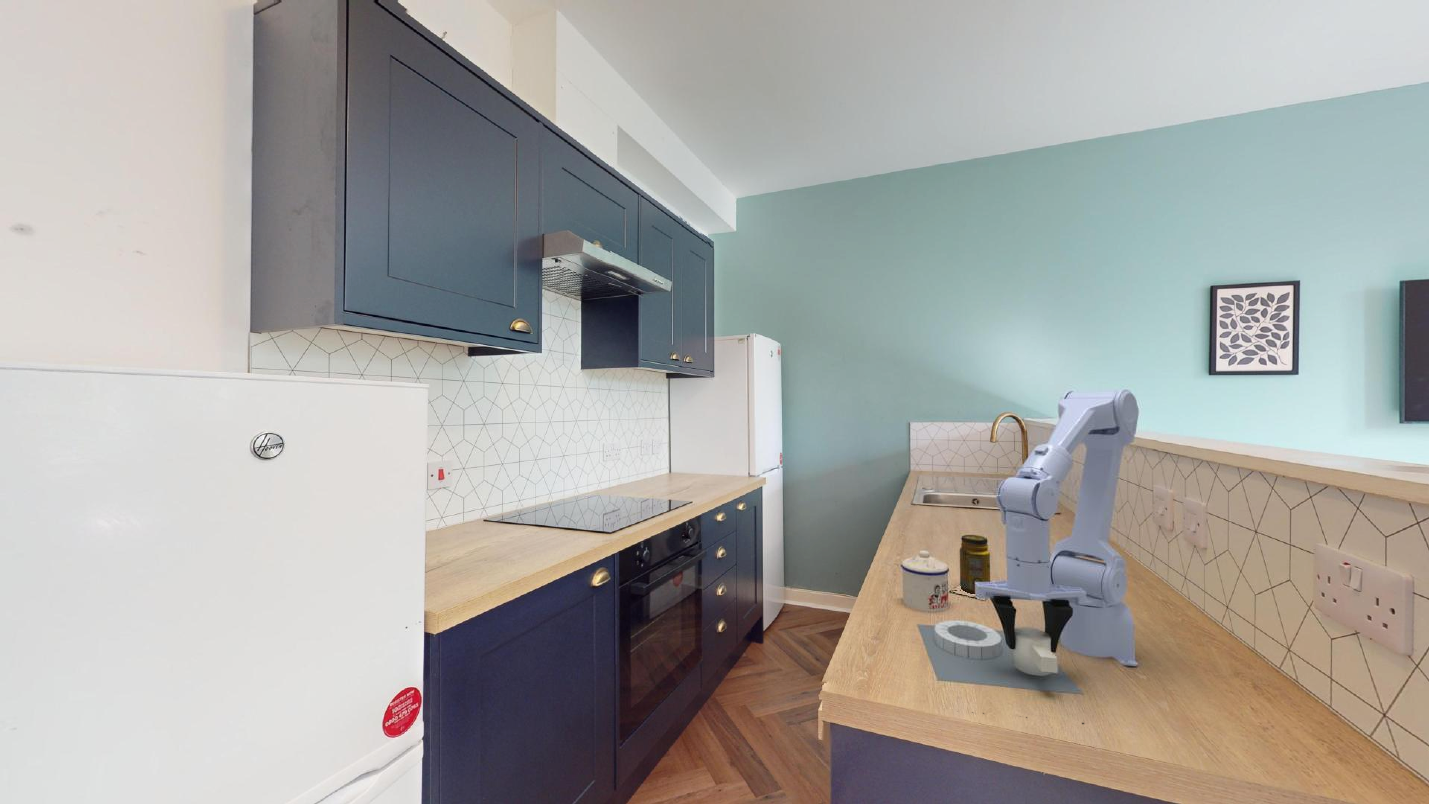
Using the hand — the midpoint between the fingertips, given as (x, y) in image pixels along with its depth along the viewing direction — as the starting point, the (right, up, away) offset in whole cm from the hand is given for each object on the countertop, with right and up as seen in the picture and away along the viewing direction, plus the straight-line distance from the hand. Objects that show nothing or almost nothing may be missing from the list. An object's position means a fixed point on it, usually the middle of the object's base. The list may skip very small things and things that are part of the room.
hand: (1030, 647), depth 78 cm
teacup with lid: (-3, -5, +29) cm, 29 cm away
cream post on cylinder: (0, -3, -2) cm, 4 cm away
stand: (-3, -5, +6) cm, 8 cm away
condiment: (+10, -5, +37) cm, 38 cm away
